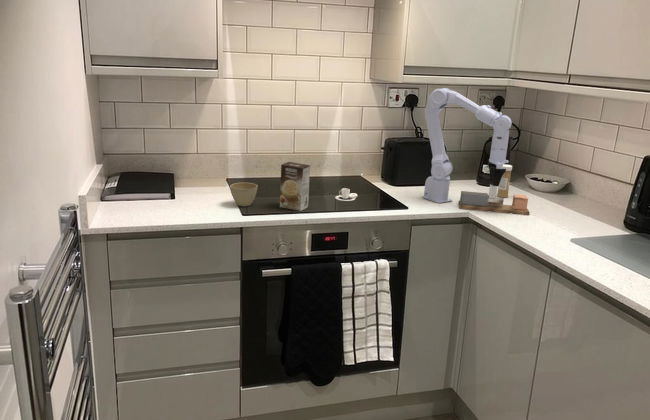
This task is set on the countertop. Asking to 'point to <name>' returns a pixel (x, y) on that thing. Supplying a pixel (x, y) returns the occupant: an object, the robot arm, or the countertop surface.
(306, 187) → the coffee box
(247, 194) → the bowl
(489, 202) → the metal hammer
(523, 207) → the socket
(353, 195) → the teacup and saucer
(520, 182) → the countertop surface
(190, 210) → the countertop surface
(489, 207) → the walnut board
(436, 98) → the robot arm
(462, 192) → the sleeve
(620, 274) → the countertop surface
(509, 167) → the sprinkles bottle
